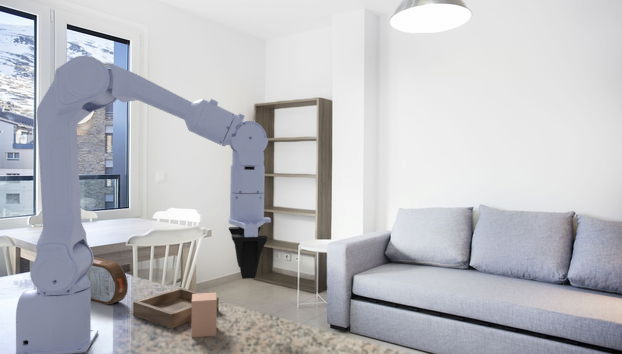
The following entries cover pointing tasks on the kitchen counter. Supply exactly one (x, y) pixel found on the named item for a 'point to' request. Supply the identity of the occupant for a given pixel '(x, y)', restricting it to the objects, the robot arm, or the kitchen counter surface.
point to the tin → (107, 281)
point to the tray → (167, 308)
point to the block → (204, 314)
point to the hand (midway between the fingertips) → (246, 271)
